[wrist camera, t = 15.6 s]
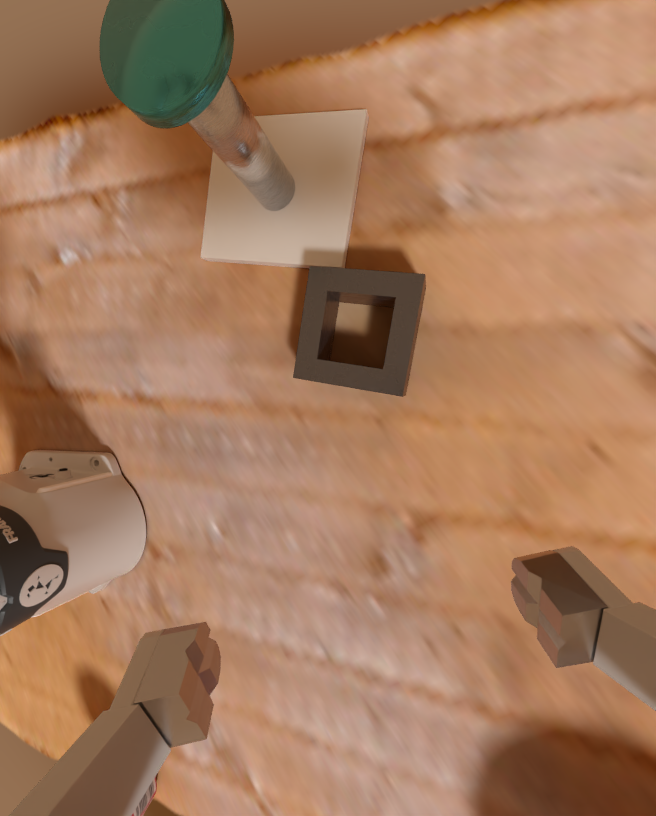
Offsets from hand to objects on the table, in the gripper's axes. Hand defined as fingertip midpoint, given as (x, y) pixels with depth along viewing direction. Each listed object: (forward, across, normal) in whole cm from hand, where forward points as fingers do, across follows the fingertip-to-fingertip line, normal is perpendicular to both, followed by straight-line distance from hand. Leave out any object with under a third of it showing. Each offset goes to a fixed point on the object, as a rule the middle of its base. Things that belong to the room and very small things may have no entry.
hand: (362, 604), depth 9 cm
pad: (+34, 0, -16) cm, 38 cm away
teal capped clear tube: (+33, +1, -16) cm, 37 cm away
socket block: (+26, -5, -1) cm, 27 cm away
